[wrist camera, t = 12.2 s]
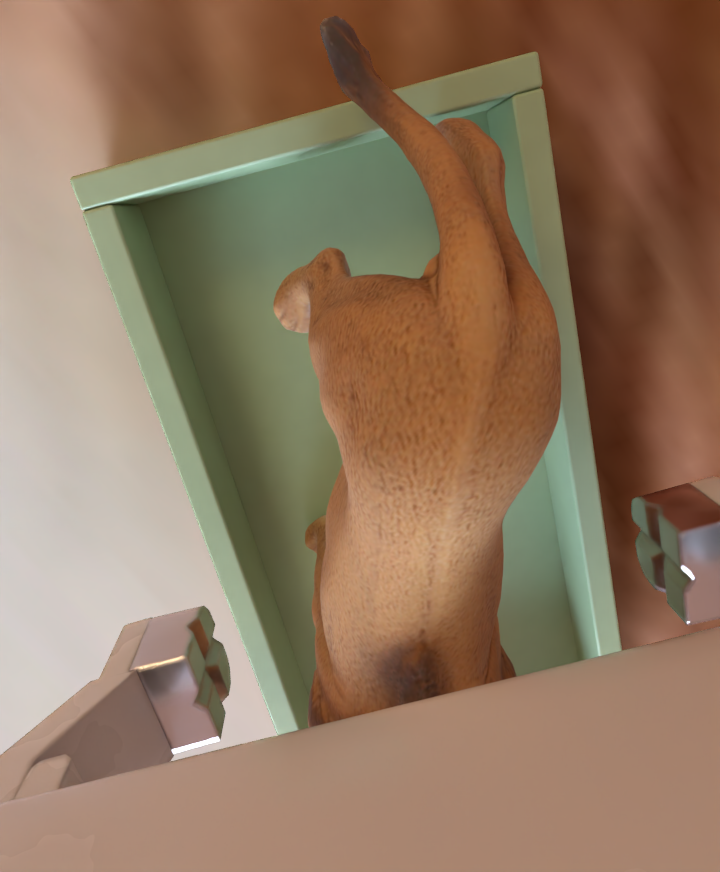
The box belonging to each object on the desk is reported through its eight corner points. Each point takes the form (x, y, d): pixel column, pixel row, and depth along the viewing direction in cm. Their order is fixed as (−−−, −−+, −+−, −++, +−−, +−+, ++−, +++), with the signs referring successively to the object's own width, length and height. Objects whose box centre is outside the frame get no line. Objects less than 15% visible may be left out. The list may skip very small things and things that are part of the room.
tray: (107, 182, 14) (67, 177, 12) (503, 75, 14) (539, 49, 12) (319, 778, 20) (320, 851, 18) (602, 708, 20) (640, 774, 17)
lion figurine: (511, 606, 19) (678, 1000, 11) (327, 644, 19) (367, 1066, 11) (474, -11, 11) (947, -119, 3) (159, 50, 11) (-100, 83, 3)
